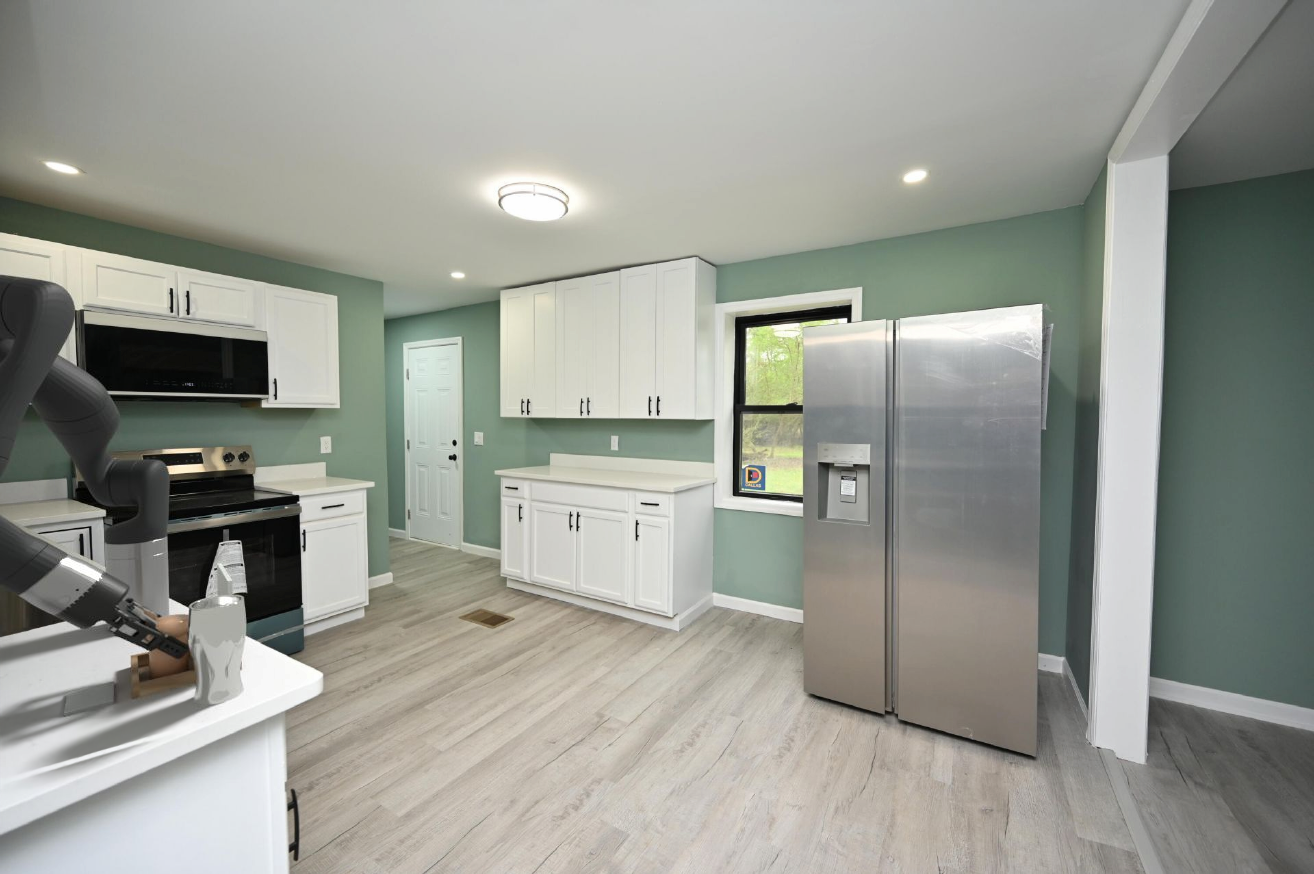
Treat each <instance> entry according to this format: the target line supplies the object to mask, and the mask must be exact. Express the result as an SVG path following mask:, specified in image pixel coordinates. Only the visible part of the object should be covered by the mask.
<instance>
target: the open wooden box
mask: <svg viewBox="0 0 1314 874" xmlns="http://www.w3.org/2000/svg"><path fill="white" fill-rule="evenodd" d="M242 661H243V660H241V667H240V671H242V670H243V669H242V668H243V667H242ZM130 673H131V677H130V679H131V697H132V700H135V699H139V698H142V697H143V698H144V697H146V696H151V695H155V694H158V693H162V692H167V691H169V690H170V691H171V690H174V689H177V688H183V687H186V686H189V685H190V686H191V685H194V684H195V685H196V675H195V671H194V667H193V663H192V659H191V655H190V651H189V671H186V672H182V673H178V674H174V675H169V676H165V677H161V678H157V679H153V680H150V666H149V651H145V652H141V653H137V654H132V655H130Z"/></svg>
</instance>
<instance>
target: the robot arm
mask: <svg viewBox="0 0 1314 874" xmlns="http://www.w3.org/2000/svg"><path fill="white" fill-rule="evenodd" d="M75 318H76V306H75V302H74V300H73V297H72V296H71V294H70V292H68V290H67V289H66V288H64V286H62V285H60V284H58V283H56V282H53V281H49V280H43V279H38V278H37V279H36V278H31V277H30V278H29V277H24V276H23V277H21V276H15V275H7V274H6V275H5V274H0V478H1V477H2V476H3V474H4V472H5V471H6V468H7V466H8V463H9V460H10V458H11V455H12V451H13V448H14V446H15V442H16V440H17V437H18V434H19V431H20V427H21V424H22V422H23V419H24V417H25V414H26V412H27V410H28V408H29V406H30V404H31V406H32V408H34V409H33V410H34V411H35V412H36V413H37V414H38V416H39V417H40V419H41V421H42V422H43V423H44V424H45V425H46V426H47V429H49V431H51V432H52V435H54V436H55V437H56V439H57V440H58V442H59V443H60V444H61V445H62V447H63V449H64V450H65V451H66V453H67V454H68V455H69V457H70V459H71V460H72V461H73V464H74V465H75V467H76V469H77V470H78V472H79V475H81V476H80V477H81V478H82V480H83V482H84V484H85V485H86V488H87V489H88V491H89V492H90V494H91V495H92V497H93V498H94V500H96V502H98V503H99V504H101V505H103V506H107V507H136V506H138V512H137V514H136V516H134V517H132V518H130V519H127V520H126V521H122V522H118V523H116V524H113V525H110V526H108V527H106V529H105V530H104V535H103V537H104V557H105V558H104V560H105V561H104V562H105V563H104V564H105V571H104V570H102V569H101V568H99V567H98V566H95V565H93V564H91V563H89V562H88V561H85V560H83V559H81V558H79V557H76V556H73V555H71V554H69V553H68V552H65V551H63V550H62V549H61V548H58V547H56V546H54V545H53V544H51V543H49V542H47V541H45V540H43V539H41V538H38V537H36V536H34V535H32V534H30V533H28V532H26V531H25V530H23V529H22V528H21V527H19V526H18V525H16V524H14V523H13V522H11V521H10V520H9V519H7V518H6V517H4V516H3V515H1V514H0V587H1V588H2V589H4V590H6V591H8V592H10V593H12V594H14V595H16V596H19V597H20V598H22V599H24V600H25V601H26V602H28V603H29V604H31V605H32V606H34V607H36V608H38V609H39V610H42V611H44V612H45V613H48V614H50V615H52V616H54V617H56V618H58V619H60V620H62V621H65V622H66V623H68V624H71V625H73V626H75V627H77V628H79V629H80V630H87V629H90V628H92V627H94V626H95V625H96V624H97V623H99V622H101V621H103V622H105V623H106V625H107V626H106V627H107V628H106V629H107V630H108V631H111V632H112V634H113V635H114V636H115V637H116V638H120V639H122V640H125V641H126V642H129V643H131V644H133V645H135V646H138V647H140V648H142V649H145V650H146V652H149V651H153V650H156V649H158V650H160V651H162V652H164V653H166V654H168V655H170V656H172V657H174V658H176V659H181V658H182V657H183V656H184V655H185V654H186V653H187V652H188V651H189V646H188V644H186V643H184V642H182V641H180V640H178V639H176V638H174V637H172V636H170V635H169V634H168V633H167V632H164V631H163V630H161V629H159V628H158V625H159V624H158V622H156V621H155V620H153V619H157V618H160V617H164V616H169V615H170V591H169V590H170V589H169V588H170V587H169V586H170V585H169V558H168V557H169V554H168V553H169V551H168V526H169V515H170V512H169V511H170V510H169V508H170V506H169V505H170V487H171V486H170V483H171V479H170V471H169V468H168V466H167V465H166V464H165V462H163V461H162V460H159V459H117V458H114V457H113V456H112V455H111V454H110V452H109V450H108V446H109V444H110V442H112V441H111V440H113V438H114V436H115V435H116V432H117V431H118V429H119V426H120V424H121V423H120V422H121V414H120V411H119V409H118V407H117V405H116V403H115V402H114V400H113V398H112V397H111V396H110V394H109V391H108V390H107V389H106V388H105V386H104V385H103V384H102V383H101V382H100V381H99V380H98V379H97V378H95V377H94V376H93V375H91V374H90V373H89V372H87V371H86V370H83V368H81V367H79V366H77V365H76V364H75V363H73V362H72V361H70V360H68V359H66V358H65V357H63V356H61V355H60V353H61V351H62V349H63V347H64V345H65V344H66V342H67V340H68V338H69V336H70V334H71V332H72V329H73V326H74V323H75ZM147 625H148V627H147ZM149 634H151V635H153V636H155V637H154V638H153V639H152V640H151V641H150V640H149V639H147V638H146V637H147V636H148V635H149Z"/></svg>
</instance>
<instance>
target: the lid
mask: <svg viewBox="0 0 1314 874" xmlns="http://www.w3.org/2000/svg"><path fill="white" fill-rule="evenodd" d="M216 577H217V578H216V579H217V580H216V583H217V586H216V587H217V589H216V590H217V596H220V595H234V594H233V593H234V592H233V591H234V590H233V587H234V585H233V579H232V578H231V576H230V575H229V573H228V572H227V570H226V569H225V567H224V565H223V564H222V562H219V563H218V562H217V563H216Z"/></svg>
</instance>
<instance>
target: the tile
mask: <svg viewBox="0 0 1314 874" xmlns="http://www.w3.org/2000/svg"><path fill="white" fill-rule="evenodd" d="M66 693H67V694H66V699H65V704H64V705H65V706H64V711H63V717H67V716H68V717H69V716H71V715H76V714H79V713H85V712H87V711H91V710H95V709H99V708H103V707H106V706H111V705H114V704H115V701H114V699H115V698H114V697H115V681H110V682H109V681H108V682H105V683H100V684H97V685H92V686H87V687H85V688H80V689H75V690H72V691H67V692H66Z"/></svg>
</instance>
